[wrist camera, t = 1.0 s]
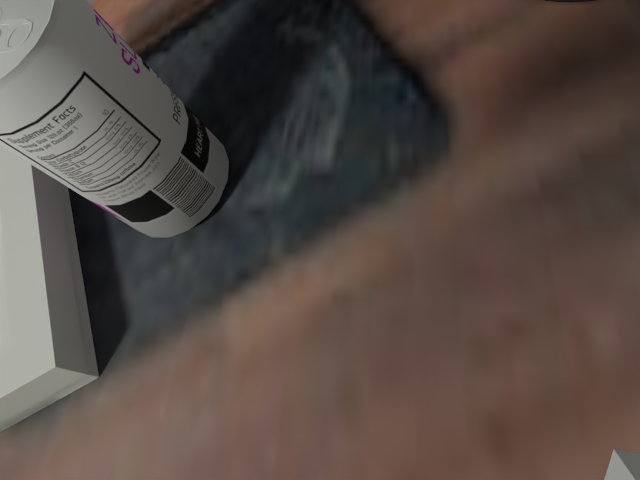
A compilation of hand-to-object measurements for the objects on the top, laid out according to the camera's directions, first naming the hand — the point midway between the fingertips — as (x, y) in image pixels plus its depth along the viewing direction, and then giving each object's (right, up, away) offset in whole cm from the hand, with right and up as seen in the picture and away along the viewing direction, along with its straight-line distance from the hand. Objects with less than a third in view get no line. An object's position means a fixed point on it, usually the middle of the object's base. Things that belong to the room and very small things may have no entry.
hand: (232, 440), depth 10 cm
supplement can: (-8, +7, +28) cm, 30 cm away
